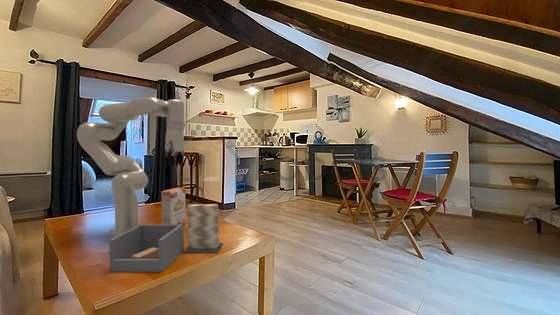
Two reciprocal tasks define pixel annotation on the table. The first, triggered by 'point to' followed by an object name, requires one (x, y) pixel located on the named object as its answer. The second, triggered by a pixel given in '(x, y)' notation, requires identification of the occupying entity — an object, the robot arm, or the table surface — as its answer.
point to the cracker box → (173, 206)
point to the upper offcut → (147, 254)
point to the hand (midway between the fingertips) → (175, 164)
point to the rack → (141, 240)
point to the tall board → (203, 226)
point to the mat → (203, 250)
